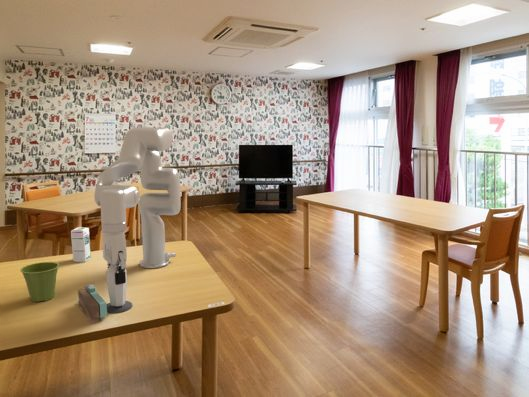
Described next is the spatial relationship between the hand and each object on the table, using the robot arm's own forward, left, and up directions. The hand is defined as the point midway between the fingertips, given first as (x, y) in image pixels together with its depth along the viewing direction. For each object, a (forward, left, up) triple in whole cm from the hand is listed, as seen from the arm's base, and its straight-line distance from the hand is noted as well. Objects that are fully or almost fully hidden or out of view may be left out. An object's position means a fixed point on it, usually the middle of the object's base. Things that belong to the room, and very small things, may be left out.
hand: (116, 280), depth 134 cm
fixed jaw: (+8, -2, -9) cm, 12 cm away
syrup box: (-3, -59, -10) cm, 60 cm away
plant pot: (+19, -23, -10) cm, 31 cm away
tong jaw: (+7, 0, -8) cm, 11 cm away
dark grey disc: (0, 0, -9) cm, 9 cm away
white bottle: (0, 0, -8) cm, 8 cm away
